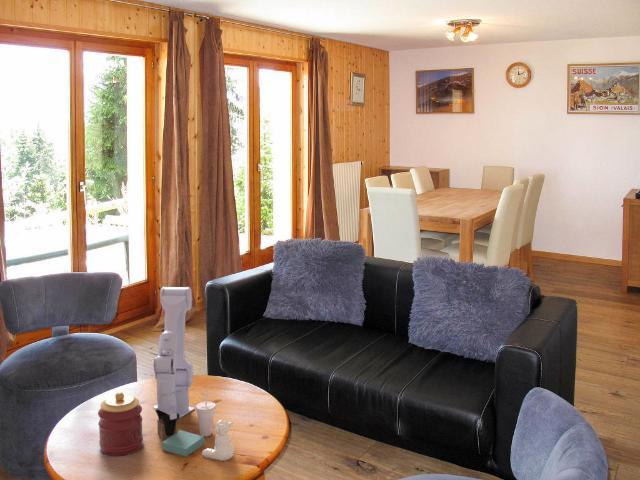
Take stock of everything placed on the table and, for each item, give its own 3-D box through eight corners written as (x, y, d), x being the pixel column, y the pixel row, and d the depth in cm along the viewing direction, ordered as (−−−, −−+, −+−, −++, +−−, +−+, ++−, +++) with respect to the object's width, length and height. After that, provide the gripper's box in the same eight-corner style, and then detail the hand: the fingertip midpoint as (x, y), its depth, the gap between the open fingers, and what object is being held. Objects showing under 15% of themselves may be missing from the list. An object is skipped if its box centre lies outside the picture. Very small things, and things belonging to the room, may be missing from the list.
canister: (93, 444, 208) (90, 390, 204) (133, 432, 215) (131, 380, 212) (108, 461, 198) (105, 405, 194) (150, 448, 205) (148, 394, 202)
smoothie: (199, 439, 211) (198, 398, 209) (193, 431, 217) (192, 390, 214) (218, 435, 214) (218, 394, 212) (212, 427, 220) (211, 387, 217)
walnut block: (157, 434, 214) (157, 419, 214) (172, 431, 217) (171, 416, 216) (162, 440, 210) (161, 425, 210) (177, 437, 213) (176, 422, 212)
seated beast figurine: (227, 445, 208) (226, 409, 206) (243, 456, 202) (243, 419, 199) (201, 455, 202) (200, 418, 199) (217, 466, 195) (216, 428, 193)
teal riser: (162, 449, 205) (162, 442, 204) (180, 437, 213) (180, 430, 212) (186, 456, 201) (186, 448, 200) (204, 443, 209) (203, 436, 208)
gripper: (147, 385, 215) (148, 425, 218) (160, 402, 203) (161, 444, 205) (168, 381, 219) (169, 420, 221) (182, 398, 206) (183, 438, 209)
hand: (167, 431), depth 213 cm, fingers closed on walnut block, 5 cm apart
